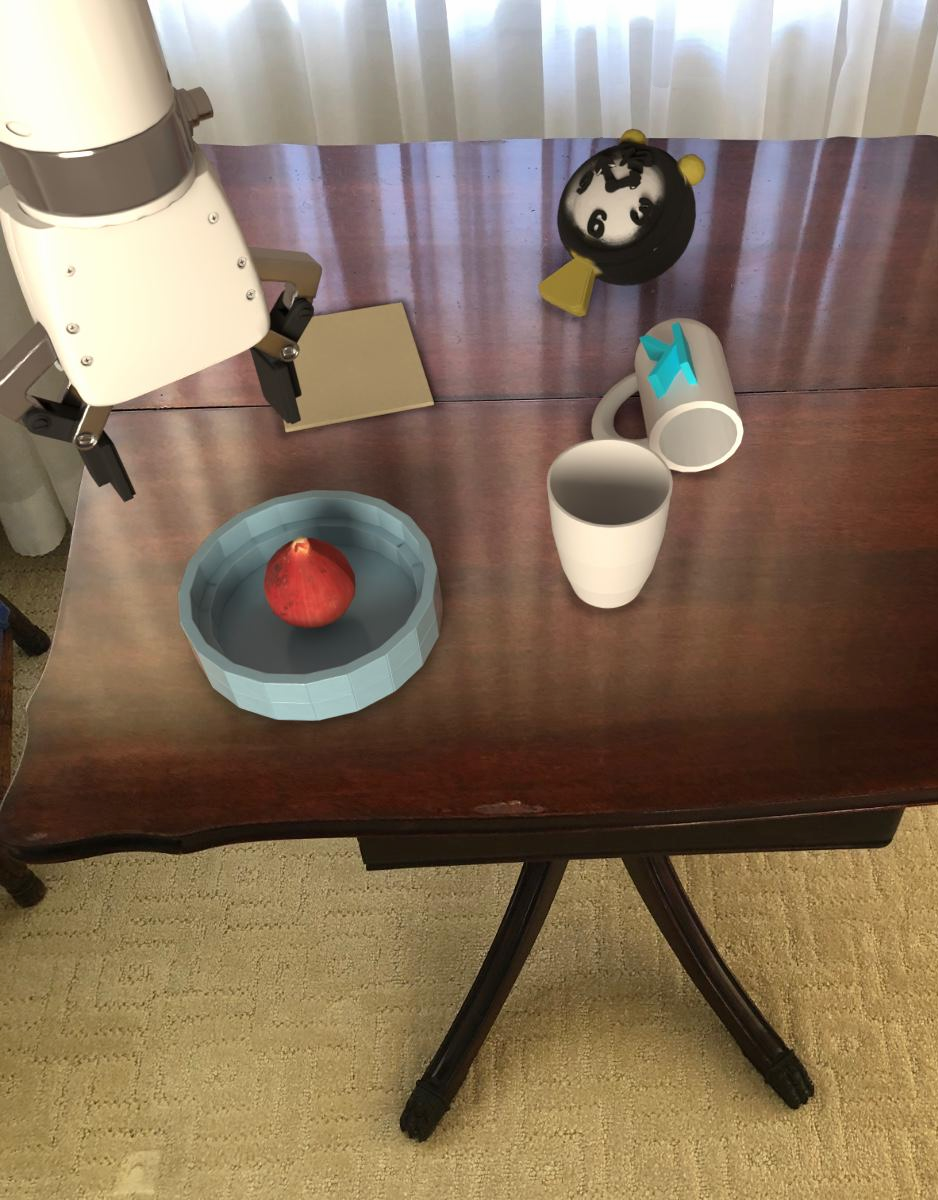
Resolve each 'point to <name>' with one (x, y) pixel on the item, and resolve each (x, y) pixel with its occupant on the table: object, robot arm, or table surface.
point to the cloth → (358, 367)
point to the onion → (309, 583)
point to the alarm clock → (623, 219)
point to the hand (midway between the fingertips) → (203, 446)
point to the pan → (322, 654)
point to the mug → (679, 397)
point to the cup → (608, 516)
